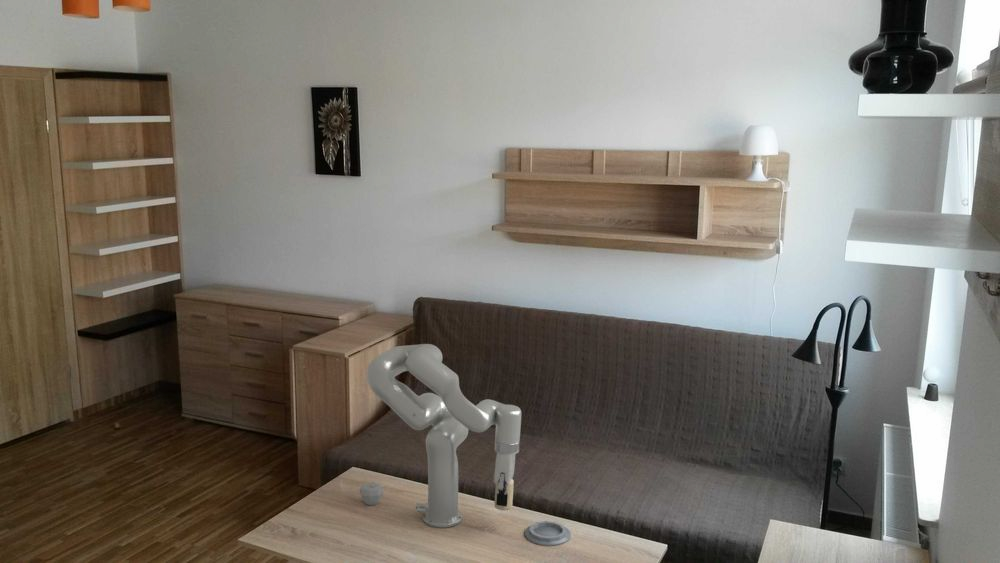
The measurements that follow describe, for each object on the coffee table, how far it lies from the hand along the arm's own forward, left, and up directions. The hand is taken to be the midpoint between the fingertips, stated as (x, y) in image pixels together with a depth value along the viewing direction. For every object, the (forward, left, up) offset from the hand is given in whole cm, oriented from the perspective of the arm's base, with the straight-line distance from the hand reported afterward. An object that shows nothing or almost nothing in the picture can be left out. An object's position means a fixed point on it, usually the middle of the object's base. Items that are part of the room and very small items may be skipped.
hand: (503, 500), depth 256 cm
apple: (-46, +9, -10) cm, 48 cm away
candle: (0, 0, -2) cm, 2 cm away
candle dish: (+14, 0, -10) cm, 17 cm away
